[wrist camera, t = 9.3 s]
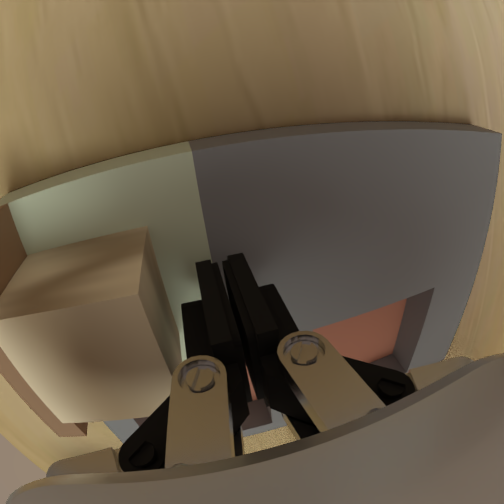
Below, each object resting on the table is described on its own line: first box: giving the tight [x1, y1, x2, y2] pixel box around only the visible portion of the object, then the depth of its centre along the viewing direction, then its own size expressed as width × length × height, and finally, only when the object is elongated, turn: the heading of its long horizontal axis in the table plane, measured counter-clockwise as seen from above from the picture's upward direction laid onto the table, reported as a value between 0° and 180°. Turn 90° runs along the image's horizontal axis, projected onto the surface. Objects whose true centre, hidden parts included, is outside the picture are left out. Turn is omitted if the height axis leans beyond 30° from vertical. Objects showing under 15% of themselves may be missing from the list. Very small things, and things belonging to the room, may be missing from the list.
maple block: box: [0, 226, 182, 423], centre depth 9 cm, size 5×5×4 cm
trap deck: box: [0, 121, 502, 443], centre depth 14 cm, size 25×18×6 cm
